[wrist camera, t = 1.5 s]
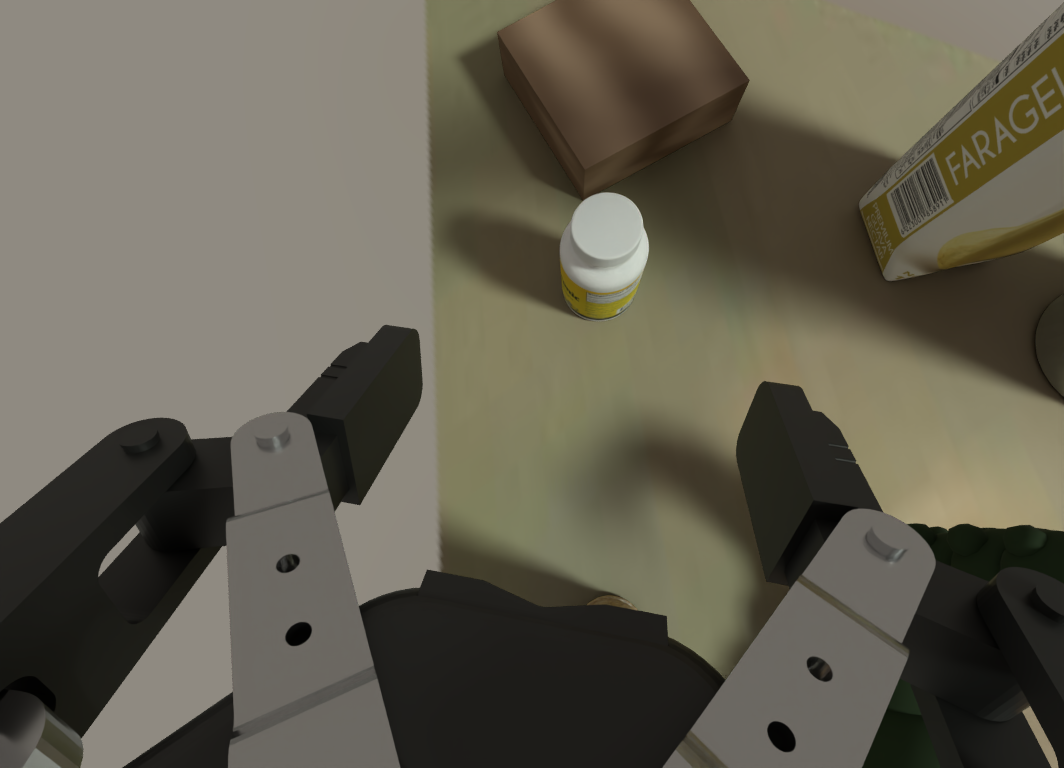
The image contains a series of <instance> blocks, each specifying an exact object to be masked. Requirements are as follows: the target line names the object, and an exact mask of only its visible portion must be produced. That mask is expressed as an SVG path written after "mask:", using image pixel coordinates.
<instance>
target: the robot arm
mask: <svg viewBox="0 0 1064 768" xmlns="http://www.w3.org/2000/svg"><path fill="white" fill-rule="evenodd" d="M1035 345H1036V351H1037V358H1038V360H1039V363H1040V365H1041V368H1042V371H1043V372H1044V374H1045V375H1046V377H1047V379H1048V380H1049V382H1050V383H1051V385H1052V386H1053V387H1054V388H1055V389H1056V390H1057V391H1058V392H1059V393H1060V394H1061V395H1062V396H1063V397H1064V294H1063V295H1061V296H1059V297H1058V298H1057V299H1056V300H1054V301H1053V302H1052V303H1051V304H1050V305H1049V306H1048V307H1047V309H1046V310H1045V312H1044V313H1043V315H1042V316H1041V318H1040V321H1039V324H1038V327H1037V329H1036V340H1035ZM420 355H421V354H420V340H419V334H418V332H417V330H415V329H410V328H404V327H396V326H389V325H384V326H383V327H382V328H381V329H380V330H379V331H378V332H377V333H376V335H375V336H374V337H373V338H372V339H371V340H370V341H369V343H366V342H360V343H358V344H356V345H354V346H352V347H350V348H348V349H346V350H345V351H343V352H342V353H341V354H340V355H339V356H338V357H337V358H336V359H335V360H334V361H333V362H332V363H331V366H330V367H328V368H327V369H326V370H325V371H324V372H323V373H322V374H321V378H320V377H318V378H317V380H316V381H315V382H314V383H313V384H312V385H311V386H310V387H309V388H308V389H307V390H306V391H305V393H304V394H303V395H302V396H301V397H300V398H299V399H298V400H297V401H296V402H295V403H294V404H293V406H292V407H291V408H290V409H289V410H288V411H287V412H277V413H270V414H266V415H263V416H260V417H257V418H255V419H253V420H251V421H249V422H247V423H246V424H244V425H243V426H242V427H240V428H239V429H238V430H237V431H236V432H235V434H234V436H233V437H224V438H209V439H193V440H191V438H190V436H189V434H188V432H187V429H186V427H185V426H184V425H183V423H181V422H180V421H177V420H175V419H170V418H152V419H146V420H141V421H137V422H134V423H131V424H129V425H126V426H124V427H121V428H119V429H118V430H116V431H114V432H112V433H111V434H109V435H108V436H106V437H105V438H104V439H103V440H101V441H100V442H99V443H98V444H97V445H95V446H94V447H93V448H92V449H91V450H89V451H88V452H87V453H86V454H85V455H83V456H82V457H81V458H79V459H78V460H77V461H76V462H75V463H74V464H72V465H71V466H70V467H69V468H67V469H66V470H65V471H64V472H62V473H61V474H60V475H59V476H58V477H56V478H55V479H54V480H53V481H51V482H50V483H49V484H48V485H47V486H45V487H44V488H43V489H42V490H41V491H39V492H38V493H37V494H36V495H35V496H33V497H32V498H31V499H29V500H28V501H27V502H26V503H25V504H23V505H22V506H21V507H20V508H19V509H17V510H16V511H15V512H14V513H12V514H11V515H10V516H9V517H8V518H6V519H5V520H4V521H3V522H1V523H0V768H80V766H81V762H82V758H83V744H82V740H81V738H82V737H83V736H84V734H85V733H86V731H87V730H88V729H89V727H90V726H91V725H92V723H93V722H94V720H95V719H96V718H97V716H98V715H99V714H100V712H101V711H102V710H103V708H104V707H105V705H106V704H107V703H108V701H109V700H110V699H111V697H112V696H113V695H114V693H115V692H116V690H117V689H118V688H119V686H120V685H121V684H122V682H123V681H124V680H125V678H126V677H127V675H128V674H129V673H130V671H131V670H132V669H133V667H134V666H135V664H136V663H137V662H138V660H139V659H140V658H141V656H142V655H143V653H144V652H145V651H146V649H147V648H148V647H149V645H150V644H151V643H152V641H153V640H154V639H155V637H156V635H157V634H158V633H159V631H160V630H161V629H162V628H163V626H164V625H165V623H166V622H167V621H168V619H169V618H170V617H171V615H172V614H173V613H174V611H175V610H176V608H177V607H178V606H179V604H180V603H181V601H182V600H183V599H184V597H185V596H186V595H187V593H188V592H189V591H190V589H191V588H192V586H193V585H194V584H195V582H196V581H197V580H198V578H199V577H200V576H201V574H202V573H203V572H204V570H205V569H206V567H207V566H208V565H209V563H210V562H211V561H212V559H213V558H214V556H215V555H216V554H217V552H218V551H219V550H220V548H221V547H222V546H227V564H228V587H229V610H230V611H229V612H230V635H231V658H232V681H233V692H232V693H230V694H229V695H228V696H226V697H224V698H223V699H222V700H220V701H219V702H217V703H216V704H214V705H213V706H212V707H210V708H208V709H207V710H206V711H204V712H203V713H201V714H200V715H198V716H197V717H196V718H194V719H192V720H191V721H190V722H188V723H187V724H185V725H184V726H182V727H181V728H179V729H178V730H176V731H175V732H174V733H172V734H171V735H169V736H168V737H166V738H165V739H163V740H162V741H161V742H159V743H158V744H156V745H155V746H153V747H152V748H150V749H149V750H147V751H146V752H145V753H143V754H142V755H140V756H139V757H137V758H136V759H135V760H133V761H132V762H130V763H128V764H127V765H126V766H124V767H123V768H862V766H863V764H864V761H865V759H866V757H867V754H868V752H869V750H870V747H871V745H872V742H873V740H874V738H875V735H876V733H877V731H878V728H879V726H880V723H881V721H882V719H883V716H884V714H885V712H886V709H887V707H888V704H889V702H890V700H891V697H892V695H893V693H894V690H895V688H896V685H897V683H898V681H899V678H900V679H902V680H904V681H906V682H908V683H910V685H911V688H912V691H913V693H914V696H915V699H916V701H917V704H918V707H919V709H920V712H921V715H922V718H923V720H924V723H925V726H926V728H927V731H928V734H929V737H930V739H931V742H932V745H933V747H934V750H935V753H936V755H937V758H938V761H939V764H940V766H941V768H1051V766H1050V764H1049V762H1048V760H1047V758H1046V756H1045V754H1044V752H1043V751H1042V749H1041V747H1040V745H1039V743H1038V741H1037V739H1036V737H1035V735H1034V733H1033V731H1032V729H1031V728H1030V726H1029V724H1028V722H1027V720H1026V718H1025V716H1024V714H1023V712H1022V711H1023V710H1025V709H1026V708H1028V707H1029V706H1031V708H1032V710H1033V712H1034V714H1035V715H1036V717H1037V719H1038V721H1039V723H1040V725H1041V727H1042V728H1043V730H1044V732H1045V734H1046V736H1047V738H1048V740H1049V741H1050V743H1051V745H1052V747H1053V749H1054V751H1055V754H1056V757H1057V761H1058V766H1059V768H1064V584H1063V583H1062V582H1060V581H1058V580H1056V579H1054V578H1052V577H1050V576H1048V575H1045V574H1043V573H1040V572H1038V571H1035V570H1031V569H1027V568H1021V567H1009V568H1005V569H1003V570H1001V571H1000V572H999V573H998V574H997V575H996V576H995V577H994V578H993V579H992V580H991V581H990V582H989V581H986V580H984V579H981V578H979V577H976V576H974V575H971V574H969V573H966V572H964V571H961V570H959V569H956V568H954V567H951V566H949V565H946V564H944V563H941V562H939V561H937V560H935V557H934V554H933V552H932V550H931V548H930V546H929V545H928V544H927V542H926V541H925V540H924V539H923V538H922V537H921V536H920V535H919V534H918V533H917V532H916V531H915V530H914V529H912V528H911V527H910V526H908V525H907V524H905V523H904V522H902V521H900V520H899V519H897V518H895V517H893V516H891V515H888V514H886V513H883V511H882V509H881V507H880V505H879V503H878V502H877V500H876V498H875V496H874V494H873V492H872V490H871V488H870V486H869V484H868V482H867V481H866V479H865V477H864V475H863V473H862V471H861V469H860V467H859V465H858V464H856V463H855V462H856V460H855V458H854V456H853V454H852V452H851V450H850V449H848V444H847V442H846V440H845V439H844V437H843V435H842V433H841V431H840V429H839V428H838V427H837V426H836V425H835V424H834V423H833V422H832V421H831V420H829V419H828V418H827V417H826V416H825V415H824V414H823V413H822V412H818V411H812V409H811V406H810V404H809V402H808V400H807V398H806V396H805V394H804V392H803V390H802V388H801V387H799V386H794V385H787V384H780V383H773V382H766V381H764V382H762V383H761V384H760V385H759V387H758V389H757V391H756V394H755V396H754V399H753V401H752V403H751V406H750V408H749V411H748V413H747V416H746V418H745V421H744V423H743V426H742V428H741V430H740V433H739V436H738V440H737V447H736V458H737V463H738V467H739V471H740V475H741V479H742V484H743V488H744V492H745V496H746V500H747V504H748V508H749V512H750V517H751V521H752V525H753V529H754V533H755V537H756V541H757V545H758V550H759V554H760V558H761V562H762V566H763V570H764V574H765V578H766V582H772V583H777V584H783V585H788V586H789V589H790V590H789V592H788V593H787V595H786V596H785V597H784V599H783V600H782V602H781V603H780V604H779V606H778V607H777V609H776V610H775V611H774V613H773V614H772V616H771V617H770V619H769V620H768V621H767V623H766V624H765V626H764V627H763V628H762V630H761V631H760V633H759V634H758V635H757V637H756V638H755V640H754V641H753V642H752V644H751V645H750V647H749V648H748V650H747V651H746V652H745V654H744V655H743V657H742V658H741V659H740V661H739V662H738V664H737V665H736V666H735V668H734V669H733V671H732V672H731V673H730V675H729V676H728V678H727V679H726V680H725V679H724V678H723V677H722V676H721V675H720V673H719V672H718V671H717V670H715V669H714V668H713V667H712V666H711V665H710V664H709V663H708V662H707V661H705V660H704V659H703V658H702V657H700V656H699V655H698V654H696V653H695V652H694V651H692V650H691V649H689V648H688V647H686V646H684V645H683V644H681V643H679V642H678V641H676V640H674V639H672V638H669V637H668V631H667V616H663V615H658V614H653V613H648V612H643V611H638V610H633V609H627V608H622V607H617V606H612V605H607V604H602V605H583V606H563V607H541V606H537V605H535V604H533V603H531V602H529V601H526V600H524V599H522V598H520V597H518V596H516V595H514V594H511V593H509V592H507V591H505V590H503V589H501V588H499V587H496V586H494V585H492V584H490V583H488V582H486V581H483V580H478V579H473V578H468V577H463V576H458V575H452V574H447V573H442V572H437V571H431V570H427V572H426V574H425V576H424V579H423V582H422V584H421V587H420V588H411V589H405V590H400V591H395V592H392V593H388V594H385V595H382V596H379V597H377V598H374V599H372V600H370V601H368V602H366V603H364V604H362V605H360V606H358V602H357V598H356V594H355V590H354V586H353V583H352V579H351V575H350V571H349V567H348V563H347V559H346V555H345V552H344V547H343V543H342V539H341V536H340V532H339V528H338V524H337V520H336V516H335V510H336V509H337V507H338V506H339V504H340V502H346V503H351V504H357V505H360V504H361V503H362V501H363V499H364V497H365V496H366V494H367V492H368V491H369V489H370V487H371V486H372V484H373V482H374V480H375V479H376V477H377V475H378V474H379V472H380V470H381V468H382V467H383V465H384V463H385V462H386V460H387V458H388V457H389V455H390V453H391V451H392V450H393V448H394V446H395V444H396V443H397V441H398V439H399V438H400V436H401V434H402V433H403V431H404V429H405V427H406V426H407V424H408V422H409V421H410V419H411V417H412V415H413V414H414V412H415V410H416V409H417V407H418V405H419V402H420V399H421V394H422V385H423V383H422V368H421V356H420ZM134 525H136V526H137V528H138V529H139V531H140V533H139V534H138V535H137V536H136V537H135V538H134V539H133V540H132V541H131V543H130V544H129V545H128V546H127V547H126V548H125V549H124V550H123V551H122V552H121V553H120V555H119V556H118V557H117V558H116V559H115V560H114V561H113V562H112V563H111V564H110V565H109V567H108V568H107V569H106V570H105V571H104V572H103V573H102V574H101V575H100V576H99V577H98V572H99V569H100V566H101V563H102V561H103V559H104V558H105V556H106V555H107V554H108V553H109V551H110V550H111V549H112V548H113V547H114V546H115V545H116V544H117V543H118V542H119V541H120V540H121V539H122V538H123V537H124V535H125V534H126V533H127V532H128V531H129V530H130V529H131V528H132V527H133V526H134Z"/></svg>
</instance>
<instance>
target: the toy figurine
mask: <svg viewBox="0 0 1064 768" xmlns="http://www.w3.org/2000/svg"><path fill="white" fill-rule="evenodd" d="M907 525H908V526H910V527H911V528H912V529H914V530H915V531H916V532H917V533H918V534H919V535H920V536H921V537H922V538H923V539H924V540H925V541H926V542H927V544H928V545H929V546H930V548H931V550H932V552H933V554H934V557H935V560H937V561H939V562H941V563H944V564H946V565H949V566H951V567H954V568H956V569H959V570H961V571H964V572H966V573H969V574H971V575H974V576H976V577H979V578H981V579H984V580H986V581H989V582H990V581H991V580H992V579H993V578H994V577H995V576H996V575H997V574H998V573H999V572H1000V571H1001V570H1003V569H1005V568H1009V567H1021V568H1027V569H1031V570H1035V571H1038V572H1040V573H1043V574H1045V575H1048V576H1050V577H1052V578H1054V579H1056V580H1058V581H1060V582H1062V583H1063V584H1064V532H1063V531H1053V530H1047V529H1040V528H1034V527H1032V526H1031V525H1019V526H1014V527H1009V528H1007V529H996V528H979V527H976V526H973V525H970V524H959V525H957V526H954V527H952V528H950V529H949V531H947V530H946V529H944V528H941V527H930V528H929V527H928V526H927V525H925V524H917V523H916V524H907ZM862 768H941V766H940V764H939V761H938V758H937V755H936V753H935V750H934V747H933V745H932V742H931V739H930V737H929V734H928V731H927V728H926V726H925V723H924V720H923V718H922V715H921V712H920V709H919V707H918V704H917V701H916V699H915V696H914V693H913V691H912V688H911V685H910V683H908V682H906V681H904V680H902V679H900V678H899V681H898V683H897V685H896V688H895V690H894V693H893V695H892V697H891V700H890V702H889V704H888V707H887V709H886V712H885V714H884V716H883V719H882V721H881V723H880V726H879V728H878V731H877V733H876V735H875V738H874V740H873V742H872V745H871V747H870V750H869V752H868V754H867V757H866V759H865V761H864V764H863V766H862Z"/></svg>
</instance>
